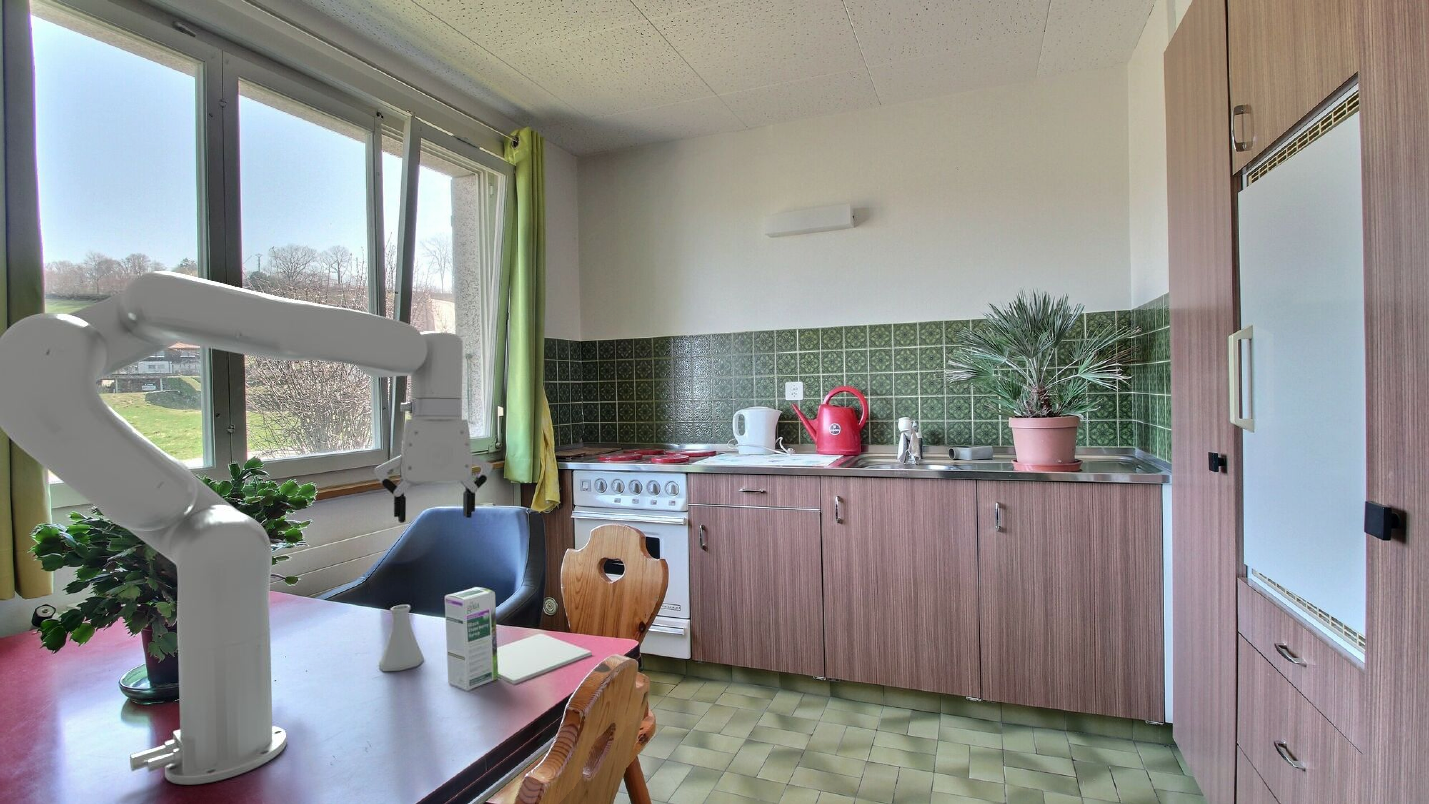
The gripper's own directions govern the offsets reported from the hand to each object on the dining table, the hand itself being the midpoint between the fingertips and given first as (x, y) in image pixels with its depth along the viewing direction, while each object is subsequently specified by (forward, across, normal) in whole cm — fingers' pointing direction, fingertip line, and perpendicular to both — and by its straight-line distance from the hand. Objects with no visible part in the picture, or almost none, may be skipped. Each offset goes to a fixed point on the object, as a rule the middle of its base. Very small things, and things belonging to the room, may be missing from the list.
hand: (435, 519), depth 104 cm
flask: (+27, -3, +16) cm, 32 cm away
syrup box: (+27, +6, +1) cm, 28 cm away
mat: (+26, +16, +5) cm, 32 cm away
